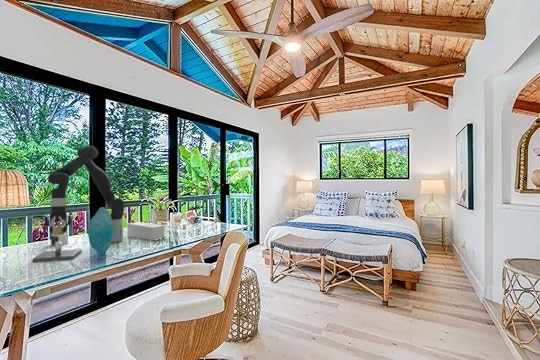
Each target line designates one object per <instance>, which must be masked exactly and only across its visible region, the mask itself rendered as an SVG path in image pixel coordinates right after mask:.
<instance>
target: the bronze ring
mask: <svg viewBox="0 0 540 360" xmlns="http://www.w3.org/2000/svg"><path fill="white" fill-rule="evenodd" d="M62 234H66V232H64V226H54V228H52V233H51V235H62Z"/></svg>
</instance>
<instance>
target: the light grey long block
mask: <svg viewBox="0 0 540 360" xmlns="http://www.w3.org/2000/svg"><path fill="white" fill-rule="evenodd" d="M165 227H166V226H165V225H163V224H158V223H157V224H156V223H150V222H149V223H148V222H143V221H142V222H141V221H137V222H129V223H126V236H127V237H128V236H129V237H128V238H134V237H136V238H135V239H139V238H143V239H142V240H145V239H149V240H148V241H151V240H156V239H159V238H163V237H164V238H165V234H166V233H165V232H166V228H165ZM156 241H157V240H156Z"/></svg>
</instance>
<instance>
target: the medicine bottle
mask: <svg viewBox="0 0 540 360" xmlns="http://www.w3.org/2000/svg"><path fill="white" fill-rule="evenodd" d="M68 236H69V235H68V233H65V234H62V235H52V234H51V236H50V244H51V246H55V243H56V242H62V246H64V245H67V244H68V242H69V237H68Z"/></svg>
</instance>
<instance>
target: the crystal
mask: <svg viewBox="0 0 540 360" xmlns="http://www.w3.org/2000/svg"><path fill="white" fill-rule="evenodd" d="M88 224H89V225H88V228H87V235H88V241H89V244H90V246H91V248H93V250H94V251H95V252H96V253H97V254H98V255H99V256H103V255H105V254H106V253H107V251H108V249H109V248H110V246H111V244H112V242H111V241H112V236H113V231H114V229H113V224H112V218H111V212H109V211H108V209H107V208H106V207H99V209H98V210H97V211H96V212H95V214H94V215H93V217H92V218H91V219H90V220H89V223H88Z"/></svg>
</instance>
